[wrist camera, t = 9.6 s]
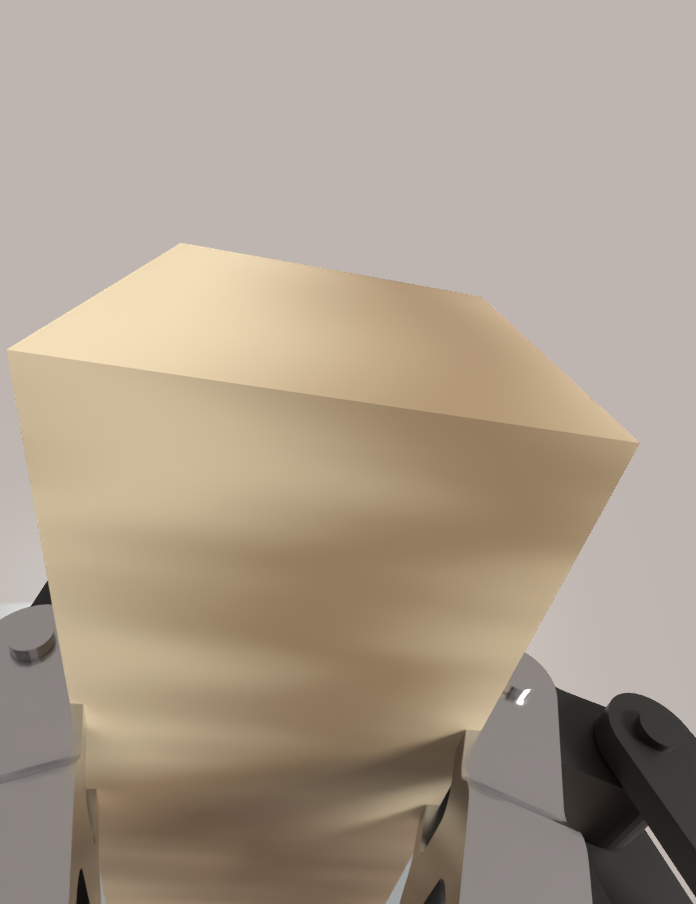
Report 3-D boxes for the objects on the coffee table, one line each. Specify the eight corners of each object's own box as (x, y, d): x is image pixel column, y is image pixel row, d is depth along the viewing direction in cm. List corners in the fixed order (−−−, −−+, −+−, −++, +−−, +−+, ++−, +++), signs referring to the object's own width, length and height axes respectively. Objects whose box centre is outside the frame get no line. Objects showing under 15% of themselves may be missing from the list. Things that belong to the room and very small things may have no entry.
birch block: (112, 938, 10) (5, 350, 4) (178, 696, 14) (181, 242, 8) (364, 940, 10) (640, 442, 4) (353, 708, 14) (481, 296, 8)
